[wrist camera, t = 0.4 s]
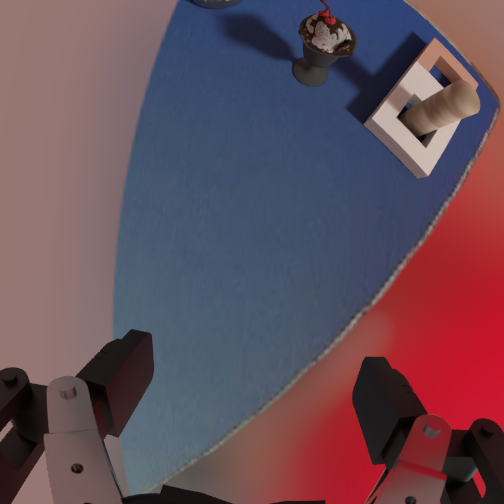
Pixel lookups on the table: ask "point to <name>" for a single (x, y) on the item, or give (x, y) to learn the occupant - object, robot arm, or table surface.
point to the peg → (441, 108)
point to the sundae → (322, 46)
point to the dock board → (414, 91)
